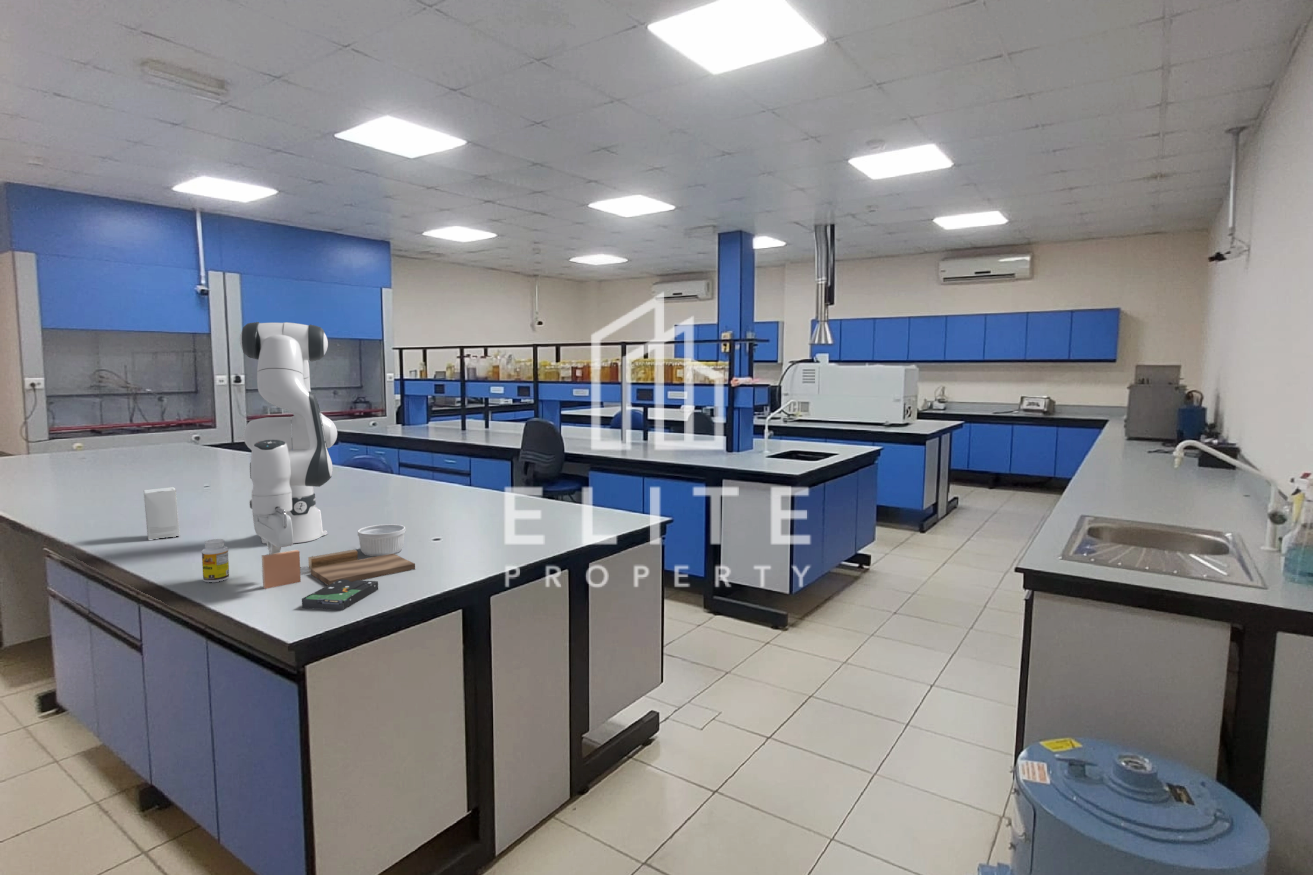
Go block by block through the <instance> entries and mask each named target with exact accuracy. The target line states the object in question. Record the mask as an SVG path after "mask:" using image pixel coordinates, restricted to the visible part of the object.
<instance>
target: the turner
mask: <svg viewBox="0 0 1313 875" xmlns="http://www.w3.org/2000/svg"><path fill="white" fill-rule="evenodd" d="M307 558H308V560H307V561H308V566H307V565H304V566H300V576H303V575H304V576H305V575H308V574H309V575H311V568H317V567H322V566H328V565H333V564H339V563H344V562H350V561H355V560H359V559H358V550H356V549H349V550H343V551H338V552H333V553H332V552H331V553H326V554H320V555H313V556H308V557H307Z"/></svg>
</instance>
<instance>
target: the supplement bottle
mask: <svg viewBox="0 0 1313 875" xmlns="http://www.w3.org/2000/svg"><path fill="white" fill-rule="evenodd" d="M224 541H225V540H224V539H221V538H213V539H209V540H206V541H204V548H203V549H202V550H201V560H202V562H201V563H202V565H201V566H202V580H203V581H204V582H205V583H209V582H212V583H219V581H220V582H223V580H224V581H226V580H228V579H229V577H230V565H229V564H230V562H229V549H228V547H227V546H225V542H224Z"/></svg>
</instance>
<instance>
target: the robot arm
mask: <svg viewBox="0 0 1313 875" xmlns="http://www.w3.org/2000/svg"><path fill="white" fill-rule="evenodd" d="M239 335H240V336H239V345H240V348H241V350H242V353H244V355H245V356H246V357H248V358H249V359H254V360H257V370H256V371H257V372H256V382H257V391H258V394H259V395H260V396H261V397H262V398H263V399H264V400H265V401H266V402H267V403H268V404H271V405H273V406H274V407H277V408H279V409H283V410H284V411H285V410H286V411H288V412H290V413H292V415H293V416H274V417H268V416H267V417H262V418H257V419H251V420H249V422H247V423H246V425H245V427H244V430H243V435H242V436H243V440H244V444H245V445H246V446H247V448H248V449H249V450H251V456H250V463H249V476H250V477H249V478H250V479H251V483H252V489H251V499H250V500H249V508H250V509H251V510H252V511H251V512H252V520H253V521H252V522H253V528H254V531H255V534H256V535H257V536H259V537H260V539H261V540H260V541H261V544H263V545H264V544H266V545H267V546H266V547H267V549H268V554H273V553H279V552H281V549H282V548H287V547H291V546H293V544H297V543H299V544H300V543H305V542H306V543H307V542H312V541H314V540H318V539H319V538H321V537H322V536H326V535H328V531H327V530H326V529H325V530H324V529H323V521H322V511H321V509H319V508H318V507H317V506H316V503H317V502H316V500H317V498H316V494H315V493H314V487H317V488H318V487H319V488H320V487H321V486H324V485H325V484H326V483H327V482H328V481H329V480H331V478H332V475H333V471H334V470H333V469H334V468H333V461H332V458H331V456H330V454H329V449H330V448H331V447H333V446H334V444H335V443H336V441H337V438H338V430H337V426H336V424H335V423H334V421H333V420H331V419H330V418H329V417H327V416H326V415H324V414H323V413H322V412H321V410H320V406H319V405H320V404H319V401H318V398H317V396H316V394H314V392H312V390H311V377H310V365H309V364H310V363H309V361H310V362H311V363H312V362H315V361H320V360H321V359H323V358H324V357H325V354H326V353H327V350H328V346H329V342H328V341H329V340H328V336H327V335H326V333H325V330H324V329H323V328H322V327H320V326H317V325H314V324H309V325H308V324H303V323H295V322H287V321H286V322H259V321H256V322H249V323H246V324H245V325H244V326H243V327H242V330H241V332H240V334H239Z"/></svg>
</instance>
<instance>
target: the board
mask: <svg viewBox="0 0 1313 875" xmlns="http://www.w3.org/2000/svg"><path fill="white" fill-rule="evenodd" d="M411 569H413V570H416V563H414V562H413V561H410V560H409V559H406V558H403V557H401V556H399V555H397V554H396V553H395V554H388V555H382V556H370V557H366V558H362V559H358V560H355V561H350V562H344V563H339V564H333V565H328V566H322V567H317V568H311V573H310V575H311V576H313V577H314V578H316V579H317V580H319V581H321V582H322V583H324V584H325V585H326V586H328V585H330V584H332V583H334V582H336V581H338V580H340V579H345V580H349V581H350V582H353V581H356V580H363V581H365V580H368V579H372V578H379V577H383V576H388V575H393V574H398V573H403V572H408V571H412V570H411Z"/></svg>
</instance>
